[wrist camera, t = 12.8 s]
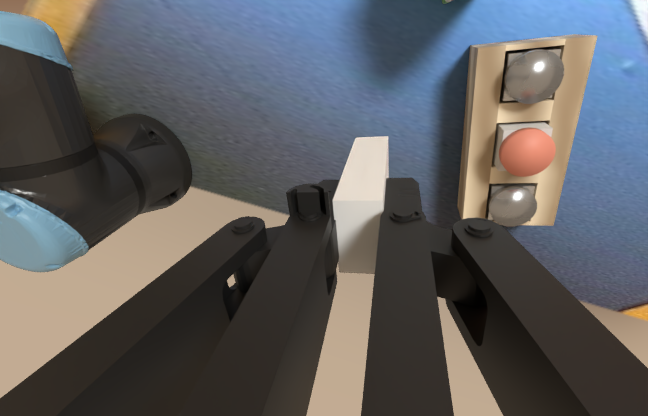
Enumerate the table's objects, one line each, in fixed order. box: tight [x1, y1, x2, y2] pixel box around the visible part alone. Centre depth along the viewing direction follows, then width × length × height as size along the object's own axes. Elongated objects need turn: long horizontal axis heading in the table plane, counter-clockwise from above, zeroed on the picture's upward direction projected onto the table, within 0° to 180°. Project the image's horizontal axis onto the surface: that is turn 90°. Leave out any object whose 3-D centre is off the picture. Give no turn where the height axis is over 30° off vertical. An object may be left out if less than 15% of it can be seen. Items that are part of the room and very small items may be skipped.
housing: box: [457, 34, 597, 226], centre depth 38 cm, size 10×20×5 cm, turn 7°
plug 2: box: [486, 183, 537, 227], centre depth 41 cm, size 5×5×6 cm
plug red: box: [492, 121, 556, 177], centre depth 36 cm, size 5×5×6 cm
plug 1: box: [500, 47, 564, 104], centre depth 34 cm, size 5×5×6 cm
